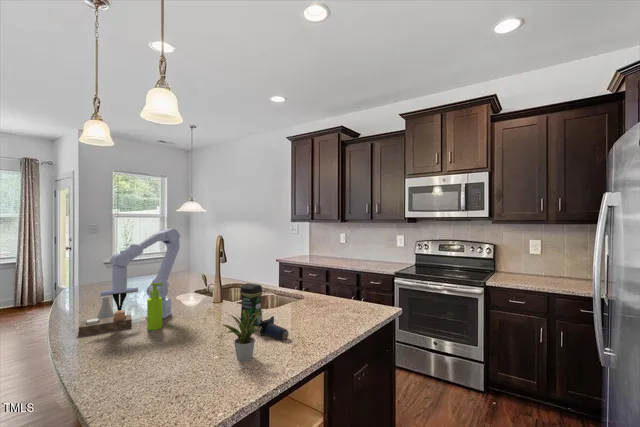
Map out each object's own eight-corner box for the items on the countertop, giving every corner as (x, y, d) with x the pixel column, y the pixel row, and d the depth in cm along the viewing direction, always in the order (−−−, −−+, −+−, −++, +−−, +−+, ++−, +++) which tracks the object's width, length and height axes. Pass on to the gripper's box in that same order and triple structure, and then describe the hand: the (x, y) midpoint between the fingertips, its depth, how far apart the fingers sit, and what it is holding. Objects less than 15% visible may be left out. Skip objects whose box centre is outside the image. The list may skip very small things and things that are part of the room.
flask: (118, 315, 160) (118, 295, 160) (107, 320, 153) (107, 299, 153) (104, 315, 161) (104, 295, 161) (93, 319, 154) (93, 299, 154)
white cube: (98, 328, 142) (98, 318, 142) (98, 330, 138) (98, 320, 138) (87, 330, 140) (87, 319, 140) (86, 332, 136) (86, 322, 136)
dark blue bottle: (259, 339, 132) (280, 347, 124) (257, 322, 130) (278, 329, 123) (274, 329, 139) (295, 336, 132) (272, 312, 137) (293, 319, 130)
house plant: (250, 345, 122) (250, 302, 122) (275, 354, 113) (274, 308, 113) (217, 358, 111) (217, 311, 111) (242, 369, 102) (241, 318, 102)
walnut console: (130, 321, 151) (130, 314, 151) (131, 327, 143) (131, 319, 143) (80, 329, 140) (80, 321, 140) (78, 335, 133) (78, 327, 133)
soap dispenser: (158, 330, 138) (157, 284, 138) (144, 329, 140) (144, 284, 140) (167, 326, 144) (167, 282, 144) (153, 325, 145) (153, 281, 146)
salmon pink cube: (124, 319, 147) (124, 310, 147) (125, 322, 144) (124, 312, 144) (114, 321, 145) (114, 311, 145) (114, 323, 142) (114, 313, 142)
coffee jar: (237, 325, 145) (237, 284, 145) (249, 320, 152) (249, 281, 152) (253, 328, 140) (253, 286, 140) (265, 323, 147) (265, 283, 147)
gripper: (100, 283, 137) (99, 315, 137) (138, 279, 145) (138, 309, 145) (100, 280, 143) (100, 311, 143) (137, 277, 151) (137, 306, 151)
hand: (119, 310), depth 144 cm, fingers closed
